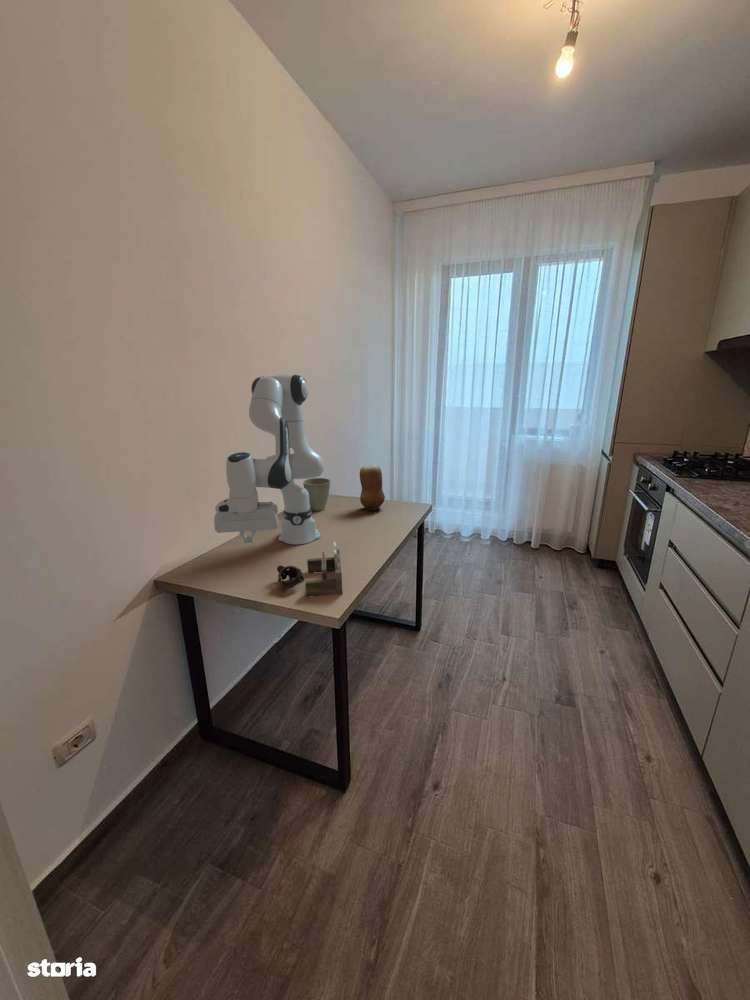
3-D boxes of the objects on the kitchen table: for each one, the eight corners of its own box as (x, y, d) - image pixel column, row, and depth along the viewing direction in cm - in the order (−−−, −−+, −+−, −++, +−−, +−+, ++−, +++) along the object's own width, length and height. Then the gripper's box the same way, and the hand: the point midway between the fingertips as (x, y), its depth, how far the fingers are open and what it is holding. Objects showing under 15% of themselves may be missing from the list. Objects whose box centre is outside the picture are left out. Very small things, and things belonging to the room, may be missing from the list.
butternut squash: (363, 505, 227) (361, 462, 220) (386, 506, 225) (385, 462, 218) (358, 513, 214) (356, 467, 207) (382, 514, 212) (382, 468, 204)
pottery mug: (311, 582, 143) (307, 570, 137) (293, 602, 138) (288, 590, 132) (288, 567, 148) (282, 554, 142) (269, 586, 144) (263, 573, 137)
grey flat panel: (322, 574, 147) (321, 546, 143) (327, 573, 147) (325, 546, 144) (322, 587, 137) (321, 558, 134) (327, 587, 137) (325, 558, 134)
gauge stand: (308, 571, 150) (305, 539, 147) (340, 568, 152) (338, 536, 148) (306, 597, 132) (303, 561, 129) (342, 594, 134) (340, 558, 130)
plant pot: (303, 513, 215) (301, 485, 211) (306, 505, 230) (304, 478, 225) (331, 512, 216) (330, 484, 212) (332, 504, 231) (330, 477, 226)
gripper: (277, 498, 135) (281, 536, 139) (215, 502, 132) (220, 540, 136) (275, 504, 129) (279, 543, 133) (210, 507, 126) (215, 548, 130)
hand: (249, 542), depth 134 cm, fingers closed
